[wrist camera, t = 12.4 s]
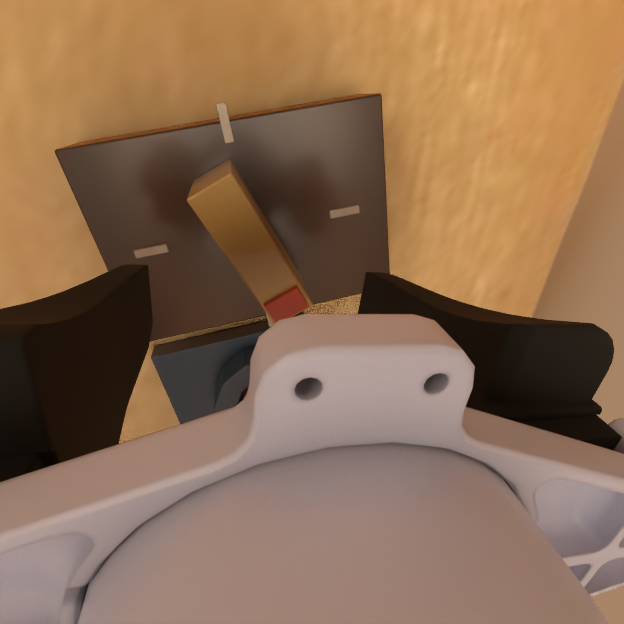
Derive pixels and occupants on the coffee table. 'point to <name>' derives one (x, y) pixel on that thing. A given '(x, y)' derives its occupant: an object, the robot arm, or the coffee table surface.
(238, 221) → the red label carton
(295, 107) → the dial panel
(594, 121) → the coffee table surface
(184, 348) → the button block
